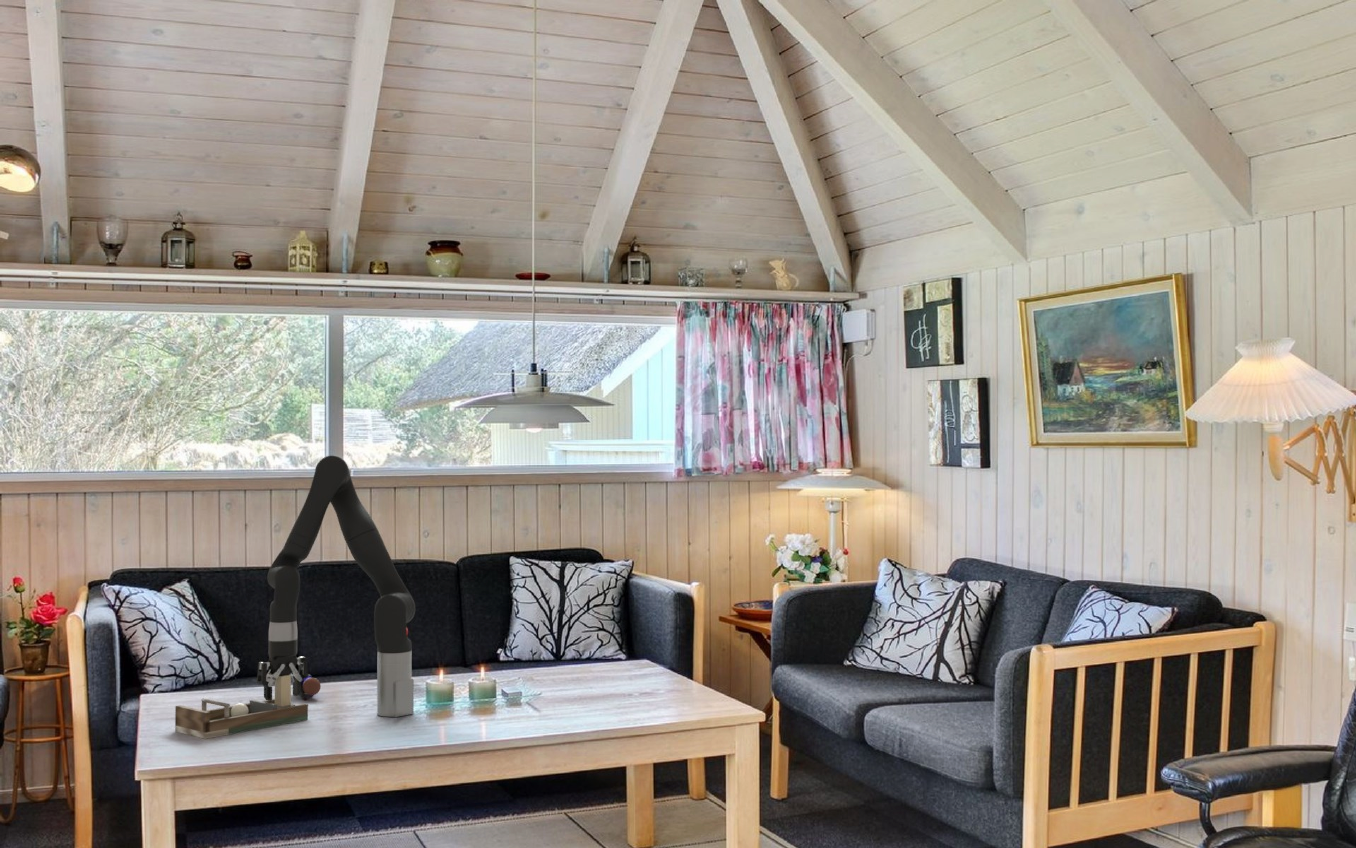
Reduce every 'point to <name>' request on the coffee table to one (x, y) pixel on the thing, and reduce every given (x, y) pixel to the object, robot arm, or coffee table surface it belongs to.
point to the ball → (239, 710)
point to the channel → (232, 719)
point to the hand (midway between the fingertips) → (282, 697)
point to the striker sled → (280, 696)
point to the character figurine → (309, 686)
